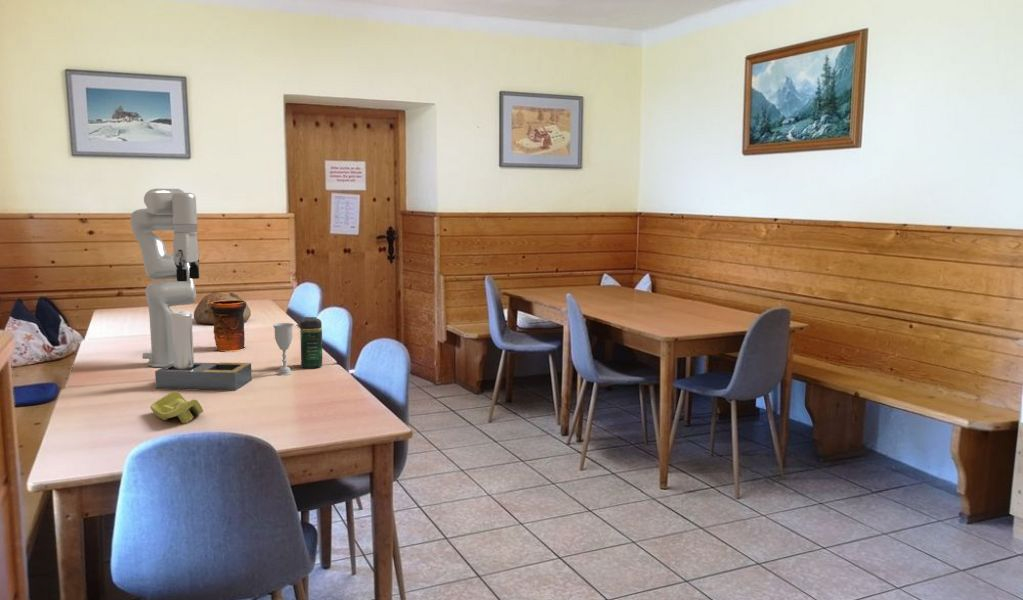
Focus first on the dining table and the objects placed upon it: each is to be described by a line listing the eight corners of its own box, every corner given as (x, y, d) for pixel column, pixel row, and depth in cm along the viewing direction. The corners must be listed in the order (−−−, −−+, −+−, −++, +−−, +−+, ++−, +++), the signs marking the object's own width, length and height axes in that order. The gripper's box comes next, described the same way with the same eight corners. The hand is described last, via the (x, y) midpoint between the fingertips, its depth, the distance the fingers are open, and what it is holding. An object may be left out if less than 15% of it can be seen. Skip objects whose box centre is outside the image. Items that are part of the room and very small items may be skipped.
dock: (156, 388, 261) (155, 370, 260) (176, 379, 275) (175, 361, 274) (235, 390, 260) (234, 372, 259) (251, 380, 274) (251, 363, 273)
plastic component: (148, 406, 232) (178, 387, 237) (161, 426, 234) (191, 407, 239) (166, 416, 216) (199, 396, 221) (180, 438, 219) (212, 417, 224)
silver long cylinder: (187, 387, 264) (184, 313, 261) (170, 385, 265) (166, 312, 262) (199, 382, 270) (195, 310, 267) (182, 381, 272) (178, 310, 268)
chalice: (299, 372, 286) (297, 323, 284) (287, 376, 280) (286, 326, 277) (281, 370, 289) (280, 322, 286) (270, 374, 282) (268, 325, 280)
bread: (185, 324, 386) (183, 294, 384) (211, 317, 409) (209, 289, 407) (235, 326, 382) (233, 296, 380) (258, 319, 405) (257, 290, 403)
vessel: (203, 350, 324) (201, 302, 322) (227, 345, 337) (226, 298, 335) (230, 353, 319) (229, 304, 317) (254, 347, 332) (253, 300, 330)
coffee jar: (323, 368, 293) (322, 319, 291) (301, 369, 291) (300, 320, 288) (322, 362, 302) (320, 315, 300) (300, 364, 300) (299, 316, 298)
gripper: (185, 228, 274) (188, 277, 276) (162, 230, 257) (165, 282, 259) (206, 228, 274) (209, 277, 276) (185, 230, 257) (188, 282, 259)
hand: (188, 279), depth 268 cm, fingers open, 9 cm apart
